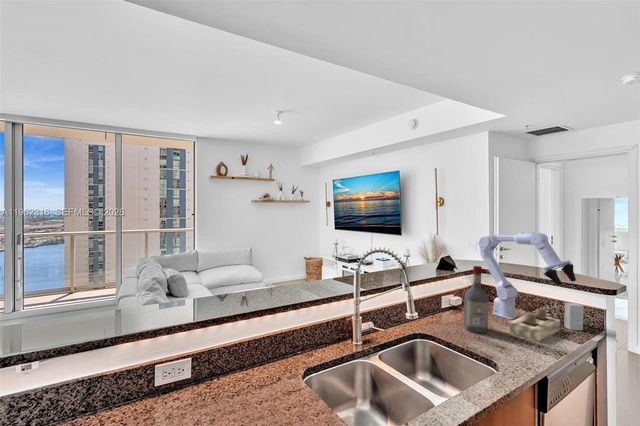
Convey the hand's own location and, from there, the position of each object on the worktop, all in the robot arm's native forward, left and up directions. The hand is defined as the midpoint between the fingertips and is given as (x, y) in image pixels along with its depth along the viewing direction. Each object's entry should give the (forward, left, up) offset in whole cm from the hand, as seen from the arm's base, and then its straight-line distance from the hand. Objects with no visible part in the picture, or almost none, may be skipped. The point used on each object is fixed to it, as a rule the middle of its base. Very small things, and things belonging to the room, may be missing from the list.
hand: (567, 283), depth 145 cm
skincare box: (0, +12, -24) cm, 27 cm away
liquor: (-26, -30, -24) cm, 47 cm away
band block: (-9, -8, -24) cm, 27 cm away
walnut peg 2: (-9, -2, -20) cm, 22 cm away
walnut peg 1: (-9, -14, -20) cm, 26 cm away
